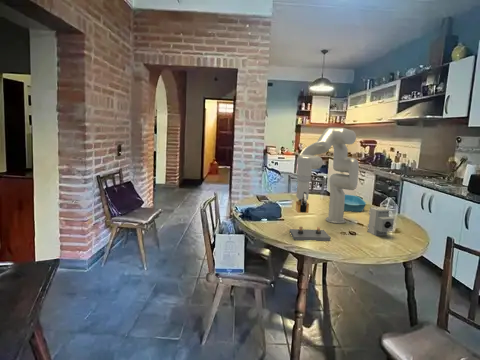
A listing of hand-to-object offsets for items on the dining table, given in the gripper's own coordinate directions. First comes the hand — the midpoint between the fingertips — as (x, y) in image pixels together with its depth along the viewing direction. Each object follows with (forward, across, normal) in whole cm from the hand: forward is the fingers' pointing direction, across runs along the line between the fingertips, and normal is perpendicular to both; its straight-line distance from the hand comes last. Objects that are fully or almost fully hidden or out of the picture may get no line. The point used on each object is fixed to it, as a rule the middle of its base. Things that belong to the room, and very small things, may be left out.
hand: (301, 210), depth 193 cm
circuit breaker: (+15, -6, +48) cm, 51 cm away
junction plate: (+15, 0, +5) cm, 16 cm away
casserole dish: (+15, -75, +52) cm, 93 cm away
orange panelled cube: (+1, 0, 0) cm, 1 cm away
